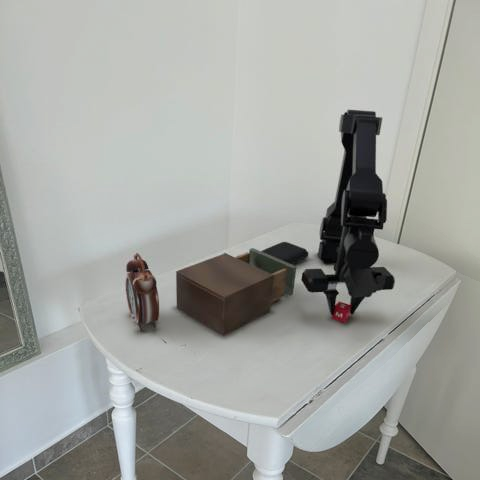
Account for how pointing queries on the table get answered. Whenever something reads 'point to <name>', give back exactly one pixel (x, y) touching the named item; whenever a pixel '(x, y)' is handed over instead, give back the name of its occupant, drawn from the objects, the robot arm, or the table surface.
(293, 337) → the table surface
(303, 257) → the carrying case
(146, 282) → the alarm clock
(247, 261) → the drawer
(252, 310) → the cabinet
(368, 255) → the robot arm
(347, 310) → the red letter m cube
